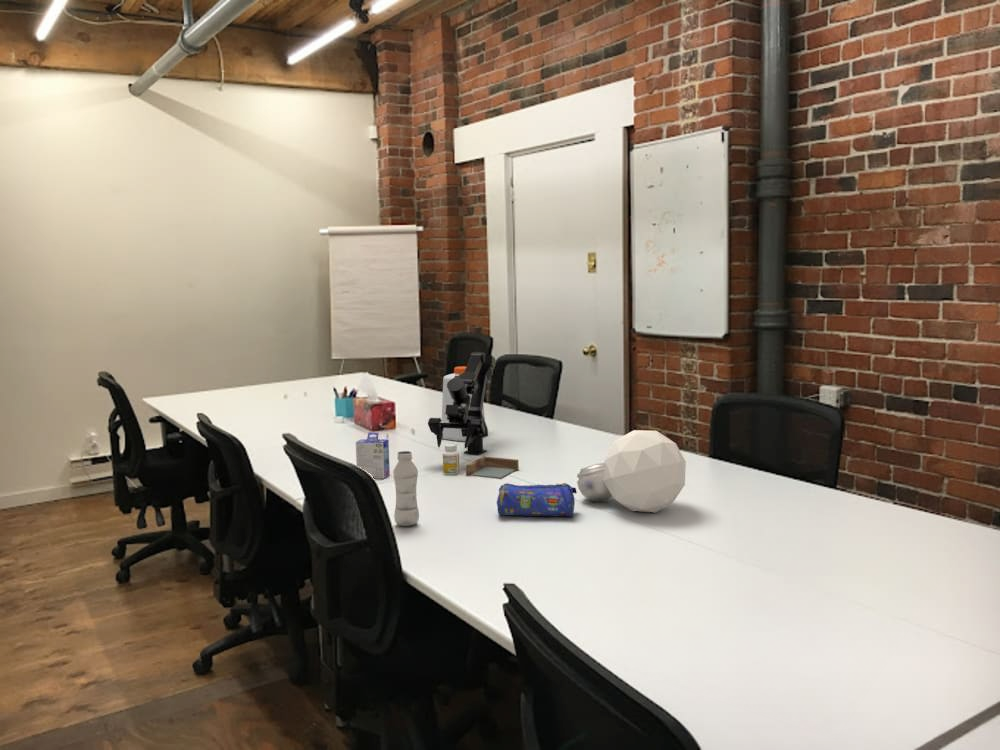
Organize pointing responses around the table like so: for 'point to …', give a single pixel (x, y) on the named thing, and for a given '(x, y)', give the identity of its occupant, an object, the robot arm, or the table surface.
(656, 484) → the lamp
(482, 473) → the mat
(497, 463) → the corner walls
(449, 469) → the supplement bottle
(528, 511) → the pencil case
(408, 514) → the plastic bottle
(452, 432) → the plastic bottle
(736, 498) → the table surface
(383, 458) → the ink cartridge box
